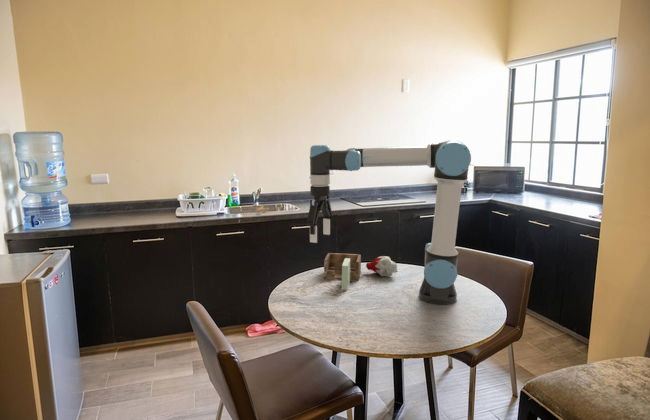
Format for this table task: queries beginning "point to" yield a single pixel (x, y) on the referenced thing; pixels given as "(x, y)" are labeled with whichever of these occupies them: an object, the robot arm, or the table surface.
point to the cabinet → (335, 266)
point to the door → (346, 274)
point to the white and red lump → (382, 266)
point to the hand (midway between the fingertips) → (320, 238)
